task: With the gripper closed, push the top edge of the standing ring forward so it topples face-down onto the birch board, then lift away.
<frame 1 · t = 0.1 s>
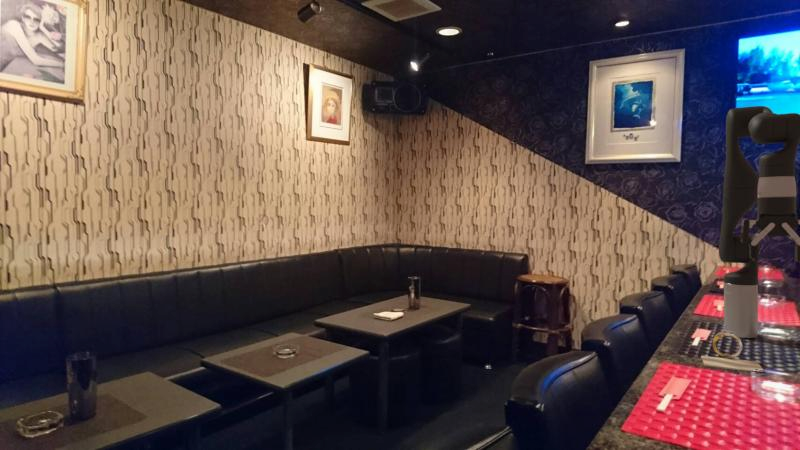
hand: (776, 261, 119), 29 cm above the bar counter, fingers open, 8 cm apart
ring: (727, 358, 136), on the bar counter
birch board: (731, 364, 130), on the bar counter
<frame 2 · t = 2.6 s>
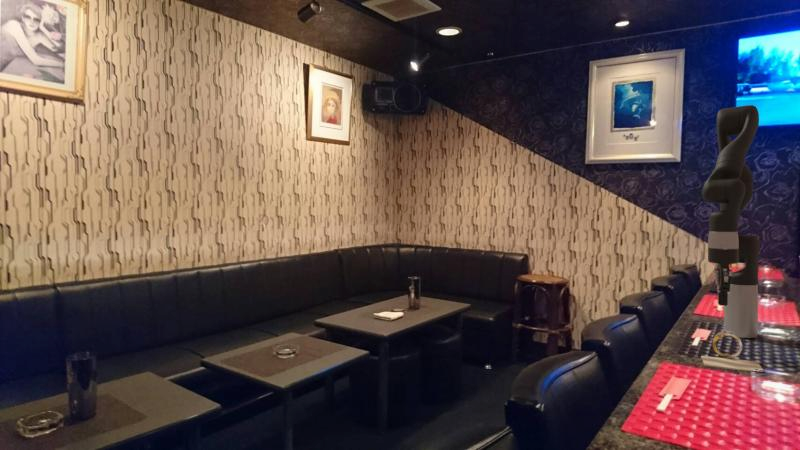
hand: (722, 305, 143), 14 cm above the bar counter, fingers closed
nothing on the bar counter moved.
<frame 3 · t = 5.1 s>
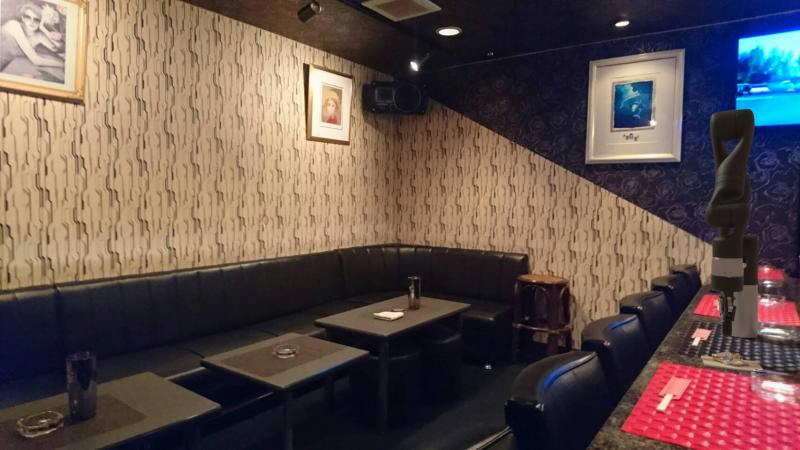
hand: (726, 334, 136), 7 cm above the bar counter, fingers closed
ring: (727, 356, 136), on the bar counter, touching birch board
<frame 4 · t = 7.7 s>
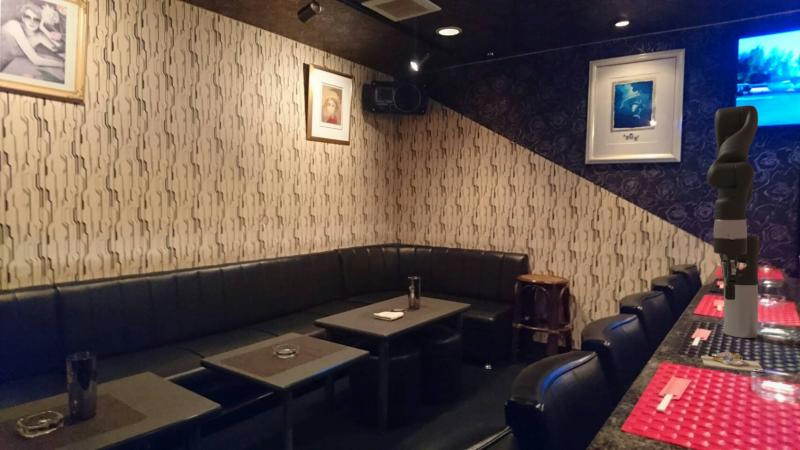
hand: (729, 299, 132), 17 cm above the bar counter, fingers closed
nothing on the bar counter moved.
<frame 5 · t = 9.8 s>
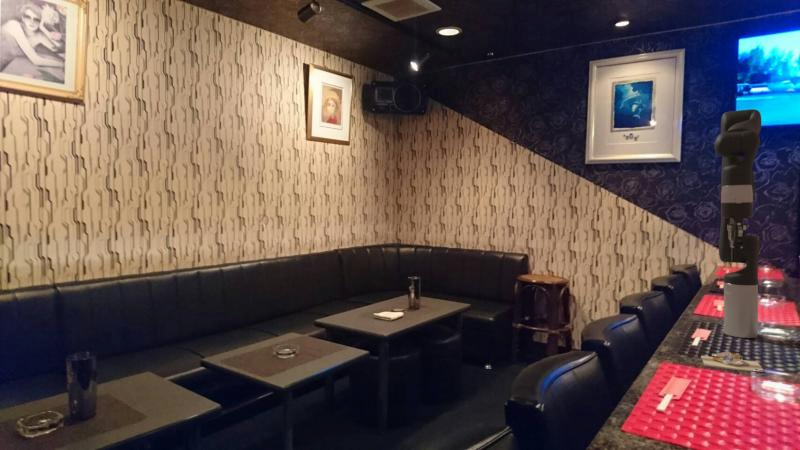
hand: (736, 261, 140), 27 cm above the bar counter, fingers closed
nothing on the bar counter moved.
at the end: ring tilted 78°; ring inside the target area (4.3 cm from its centre), point 0.5 cm above the bar counter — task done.
